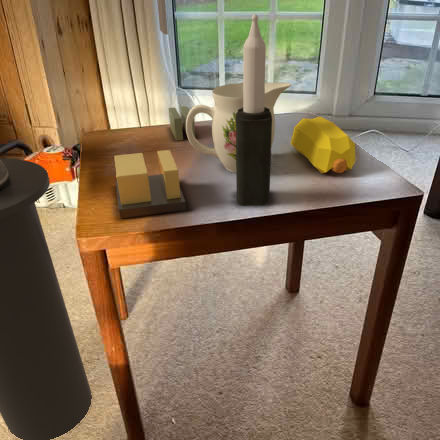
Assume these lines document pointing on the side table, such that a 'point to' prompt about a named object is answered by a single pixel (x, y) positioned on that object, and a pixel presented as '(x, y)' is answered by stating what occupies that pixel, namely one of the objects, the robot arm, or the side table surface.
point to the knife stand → (179, 122)
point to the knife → (162, 16)
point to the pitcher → (229, 119)
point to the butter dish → (153, 205)
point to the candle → (253, 126)
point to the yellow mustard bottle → (324, 145)
